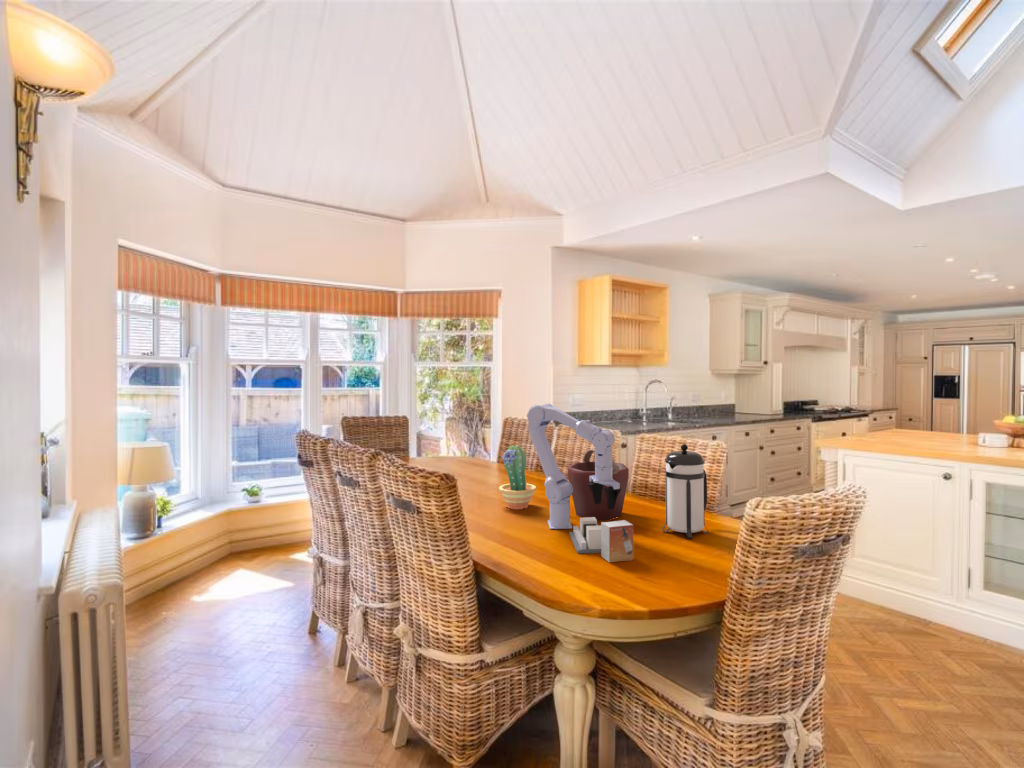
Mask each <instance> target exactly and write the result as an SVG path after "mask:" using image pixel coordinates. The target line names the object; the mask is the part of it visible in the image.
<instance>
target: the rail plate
mask: <svg viewBox="0 0 1024 768" xmlns="http://www.w3.org/2000/svg"><path fill="white" fill-rule="evenodd" d="M572 527H573V528H572V529H573V530H572V531H569V537H570V539H571V541H572V544H573V546H574V548H575V551H576V552H577V554H601V524H600V525H597V526H586V539H584V537H583V536H582V534H581V532H580V527H579V525H576V526H575V525H572Z"/></svg>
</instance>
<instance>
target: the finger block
mask: <svg viewBox="0 0 1024 768" xmlns="http://www.w3.org/2000/svg"><path fill="white" fill-rule="evenodd" d="M586 526H598V521H597V520H596V518H595V517H583V518H582V517H579V530H580V532H581V534H582V536H583V537H584V539H586Z"/></svg>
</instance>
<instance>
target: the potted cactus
mask: <svg viewBox="0 0 1024 768" xmlns="http://www.w3.org/2000/svg"><path fill="white" fill-rule="evenodd" d="M501 458H502V460H503V465H504V466H503V467H504V468H505V471H506V473H507V476H508V481H509V483H505V484H501V485H500V486H499V487H498V490H499V493H501V495H502V498H503V500H504V501H505V503H506V507H508V508H507V509H510V508H511V510H524V509H523V508H525V509H527V508H529V507H528V506H529V503H530V502H531V501H532V499H533V496H534V494H535V492H536V491H537V490H536V489H537V486H536V485H534V484H530V483H528V482H526V472H525V471H526V469H527V467H526V466H527V454H526V451H525V450H523V448H522V447H521V446H520V445H517V444H515V445H510V446H508V448H507V449H506V450H505V452H503V455H502V456H501Z"/></svg>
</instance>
